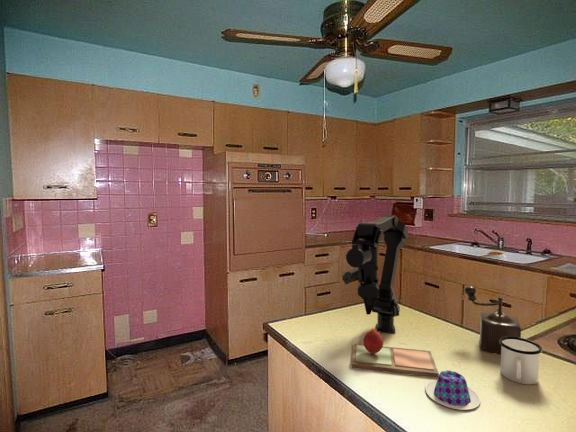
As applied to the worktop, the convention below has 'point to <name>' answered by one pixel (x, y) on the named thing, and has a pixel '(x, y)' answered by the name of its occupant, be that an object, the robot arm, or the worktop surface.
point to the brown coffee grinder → (494, 324)
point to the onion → (373, 341)
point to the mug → (520, 359)
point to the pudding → (452, 391)
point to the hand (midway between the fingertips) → (368, 309)
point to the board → (395, 361)
